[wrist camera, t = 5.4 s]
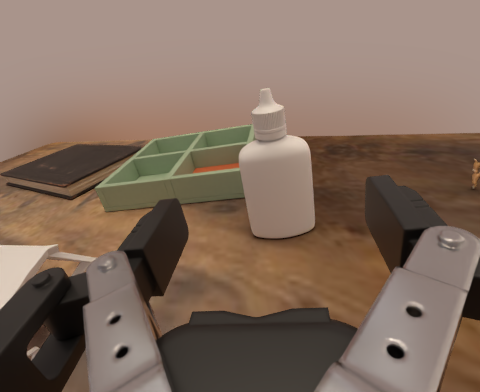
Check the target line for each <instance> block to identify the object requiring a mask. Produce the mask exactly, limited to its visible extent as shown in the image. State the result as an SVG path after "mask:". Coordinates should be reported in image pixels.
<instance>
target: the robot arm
mask: <svg viewBox="0 0 480 392" xmlns="http://www.w3.org/2000/svg"><path fill="white" fill-rule="evenodd" d="M365 218H366V223H367V226H368V228H369V230H370V232H371V234H372V236H373V238H374V240H375V242H376V244H377V246H378V248H379V250H380V252H381V254H382V256H383V258H384V260H385V262H386V264H387V266H388V268H389V270H390V272H391V275H390V276H389V278H388V280H387V281H386V283H385V285H384V286H383V288H382V290H381V291H380V293H379V295H378V296H377V298H376V300H375V301H374V303H373V305H372V306H371V308H370V310H369V311H368V313H367V315H366V316H365V318H364V320H363V321H362V323H361V325H360V326H359V328H358V329H357V328H355V327H353V326H351V325H349V324H346V323H343V322H340V321H337V320H332V319H330V316H329V311H328V308H298V309H289V310H285V311H281V312H277V313H273V314H269V315H266V316H262V317H250V316H246V315H241V314H236V313H231V312H227V311H201V312H192V315H191V318H190V321H189V323H187V324H184V325H181V326H179V327H177V328H175V329H173V330H171V331H169V332H167V333H166V334H164V335H162V333H161V330H160V328H159V325H158V323H157V320H156V318H155V315H154V312H153V310H152V307H151V305H150V303H149V300H150V298H151V296H163V295H164V293H165V291H166V288H167V286H168V284H169V281H170V279H171V277H172V274H173V272H174V270H175V268H176V265H177V263H178V261H179V258H180V256H181V254H182V251H183V249H184V247H185V245H186V242H187V240H188V226H187V223H186V220H185V217H184V214H183V211H182V208H181V205H180V202H179V200H178V199H177V198H171V199H162V200H159V201H158V203H157V204H156V205H155V207H154V208H153V210H152V211H150V212H149V213H147V214H146V215H145V216H143V217H142V218H141V219H140V220H139V222H138V223H137V224H136V227H134V228H133V230H132V231H131V233H130V234H129V235H128V236H127V238H126V239H125V240H124V242H123V243H122V244H121V246H120V247H119V249H118V250H117V251H112V252H109V253H106V254H104V255H102V256H100V257H98V258H97V259H95V260H94V261H93V262H92V263H91V264H90V265H89V266H88V268H87V270H86V272H84V273H81V274H78V275H74V276H71V277H68V276H67V274H66V273H65V271H64V270H63V269H62V268H58V267H57V268H51V269H47V270H45V271H43V272H40V273H39V274H37V275H35V276H34V277H32V278H31V279H29V280H28V281H27V282H26V283H25V284H24V285H23V286H22V287H21V288H20V289H19V290H18V291H17V292H16V293H15V294H14V296H13V297H12V298H11V299H10V300H9V301H8V302H7V303H6V304H5V305H4V306H3V307H2V308H1V309H0V392H62V390H63V388H64V386H65V384H66V383H67V381H68V379H69V377H70V375H71V374H72V372H73V370H74V368H75V366H76V365H77V363H78V361H79V359H80V357H81V356H82V354H83V352H84V350H85V348H86V354H87V366H88V378H89V390H90V392H440V389H441V386H442V382H443V379H444V376H445V372H446V369H447V366H448V362H449V359H450V356H451V353H452V349H453V346H454V343H455V340H456V336H457V333H458V330H459V327H460V324H461V320H462V317H466V318H470V319H475V320H480V240H479V239H478V238H477V237H476V236H475V235H473V234H472V233H470V232H468V231H466V230H463V229H460V228H456V227H450V226H447V224H446V223H445V222H444V221H443V220H442V219H441V218H440V217H439V216H438V215H437V214H436V212H435V211H434V210H433V209H432V208H431V207H429V205H428V204H427V203H426V202H425V201H423V198H422V197H421V196H420V195H419V194H418V193H417V192H416V191H414V190H412V189H410V188H408V187H406V186H397V185H396V183H395V182H394V181H393V180H392V179H391V177H390V176H389V175H383V176H374V177H367V179H366V192H365ZM43 323H44V325H45V326H46V327H47V329H48V330H49V331H50V332H51V334H50V335H49V337H48V338H47V340H46V341H45V342H44V344H43V345H42V347H41V348H40V349H39V351H38V352H37V354H36V355H35V357H34V358H33V359H32V361H30V359H29V358H28V356H27V346H28V343H29V341H30V340H31V338H32V337H33V336H34V334H35V333H36V332H37V330H38V329H39V328H40V327H41V325H42V324H43Z"/></svg>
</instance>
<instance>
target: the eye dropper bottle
mask: <svg viewBox="0 0 480 392" xmlns="http://www.w3.org/2000/svg"><path fill="white" fill-rule="evenodd" d="M251 115H252V122H253V128H254V134H255V138H256V140H254V141H252V142H250V143H249V144H247V145H246V146H244V147H243V148H242V149H241V151H240V153H239V168H240V174H241V179H242V184H243V190H244V195H245V200H246V205H247V210H248V215H249V221H250V226H251V230H252V233H253V234H254V235H255V236H257V237H261V238H286V237H292V236H296V235H300V234H303V233H305V232H308V231H310V230H311V229H313V228H314V225H315V213H314V197H313V182H312V167H311V155H310V149H309V147H308V145H307V143H306V142H305V141H304V140H303V139H302V138H299V137H296V136H290V135H286V133H287V130H286V120H285V111H284V107H283V106H282V105H279V104H276V103H275V102H274V100H273V97H272V95H271V91H270V88H265V89H261V90H260V101H259V105H258V107H257V108H255V109H254V110H253V111H252V112H251Z"/></svg>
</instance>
